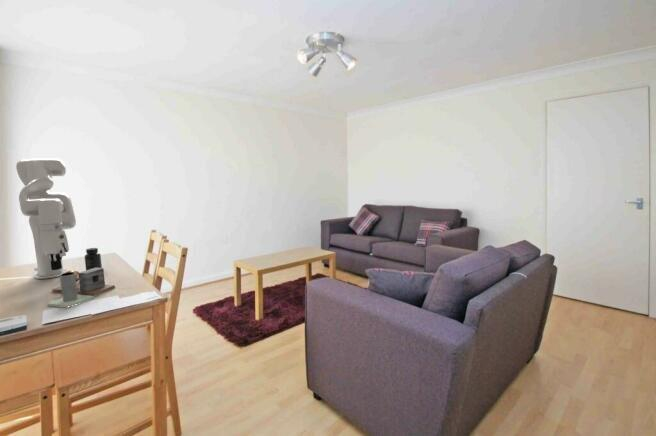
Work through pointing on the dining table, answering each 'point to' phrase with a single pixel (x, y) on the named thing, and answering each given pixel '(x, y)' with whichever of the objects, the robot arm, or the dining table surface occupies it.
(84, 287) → the shaft stand
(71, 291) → the grey open cylinder
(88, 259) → the supplement bottle
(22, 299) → the dining table surface
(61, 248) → the robot arm
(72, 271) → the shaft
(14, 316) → the dining table surface
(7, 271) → the dining table surface
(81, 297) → the tile
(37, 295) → the dining table surface
